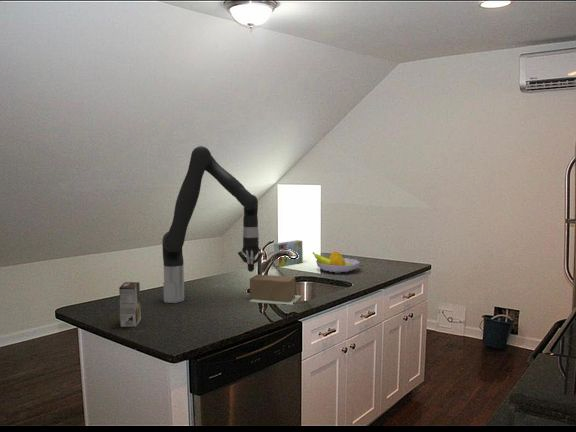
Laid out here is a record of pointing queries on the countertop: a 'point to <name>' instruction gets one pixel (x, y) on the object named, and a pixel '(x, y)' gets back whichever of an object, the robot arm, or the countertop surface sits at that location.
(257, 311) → the countertop surface
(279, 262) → the snack box
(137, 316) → the coffee box
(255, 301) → the felt mat
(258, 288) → the wooden block
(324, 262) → the fruit bowl
